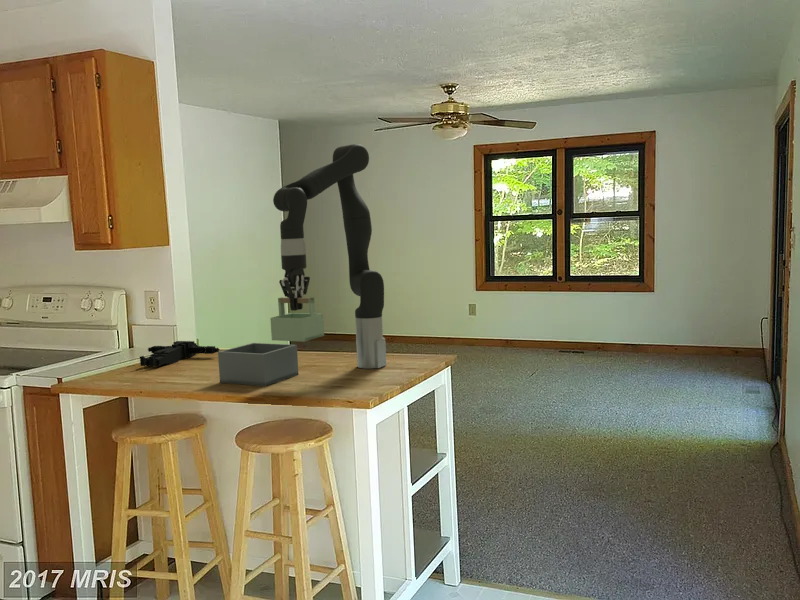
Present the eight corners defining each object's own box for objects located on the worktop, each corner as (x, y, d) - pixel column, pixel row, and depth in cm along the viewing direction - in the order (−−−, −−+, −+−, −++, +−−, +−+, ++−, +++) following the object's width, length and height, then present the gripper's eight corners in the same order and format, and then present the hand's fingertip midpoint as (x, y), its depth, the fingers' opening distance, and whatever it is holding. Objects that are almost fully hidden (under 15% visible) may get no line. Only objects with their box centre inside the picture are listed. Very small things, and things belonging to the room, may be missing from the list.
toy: (109, 354, 262) (157, 338, 290) (111, 371, 263) (159, 353, 291) (183, 355, 253) (226, 338, 282) (185, 373, 254) (227, 354, 283)
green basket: (324, 335, 224) (322, 296, 223) (304, 341, 214) (302, 300, 213) (292, 334, 230) (290, 295, 228) (271, 340, 220) (269, 299, 218)
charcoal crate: (298, 374, 238) (296, 344, 237) (265, 386, 222) (263, 354, 221) (254, 371, 246) (253, 342, 245) (219, 382, 230) (217, 351, 229)
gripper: (290, 254, 211) (293, 313, 213) (316, 252, 224) (319, 307, 226) (269, 255, 215) (273, 312, 217) (296, 252, 227) (299, 307, 229)
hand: (296, 309), depth 221 cm, fingers closed on green basket
